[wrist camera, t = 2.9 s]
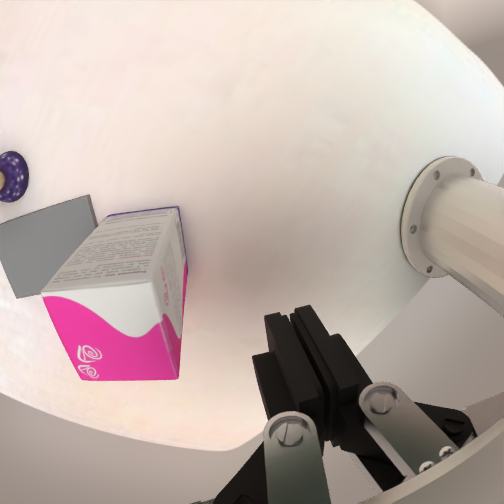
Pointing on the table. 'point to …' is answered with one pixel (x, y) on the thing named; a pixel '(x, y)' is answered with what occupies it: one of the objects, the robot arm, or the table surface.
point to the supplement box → (123, 298)
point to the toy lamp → (12, 176)
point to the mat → (43, 243)
